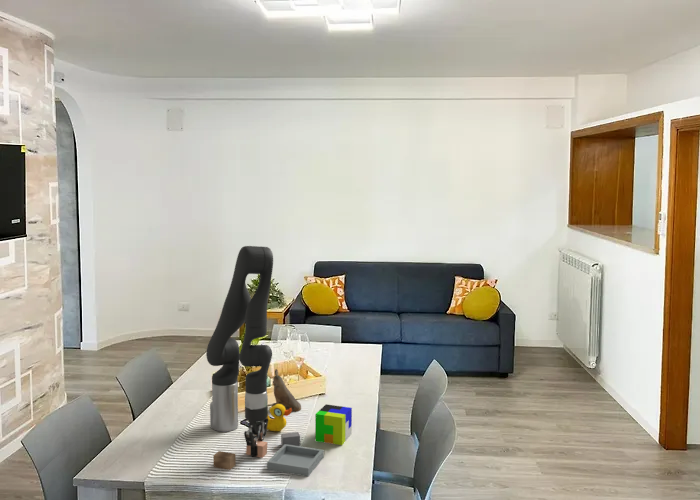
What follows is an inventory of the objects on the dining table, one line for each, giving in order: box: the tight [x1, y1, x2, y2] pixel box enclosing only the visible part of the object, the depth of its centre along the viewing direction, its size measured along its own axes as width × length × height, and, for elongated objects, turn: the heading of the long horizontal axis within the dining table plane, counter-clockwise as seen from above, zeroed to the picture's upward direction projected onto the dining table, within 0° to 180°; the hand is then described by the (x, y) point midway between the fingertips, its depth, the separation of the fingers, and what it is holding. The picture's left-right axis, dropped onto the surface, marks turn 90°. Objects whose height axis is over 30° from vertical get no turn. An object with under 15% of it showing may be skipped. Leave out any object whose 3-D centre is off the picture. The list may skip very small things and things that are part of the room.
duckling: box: [267, 404, 292, 432], centre depth 230 cm, size 11×5×10 cm, turn 82°
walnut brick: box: [212, 450, 237, 471], centre depth 202 cm, size 6×4×4 cm, turn 72°
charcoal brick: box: [280, 431, 301, 447], centre depth 218 cm, size 6×4×4 cm, turn 106°
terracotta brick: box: [245, 439, 268, 459], centre depth 211 cm, size 6×4×4 cm, turn 73°
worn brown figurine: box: [270, 368, 302, 413], centre depth 251 cm, size 12×6×18 cm, turn 81°
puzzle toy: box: [314, 404, 353, 446], centre depth 224 cm, size 10×10×10 cm
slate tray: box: [266, 444, 325, 477], centre depth 204 cm, size 14×14×3 cm
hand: (256, 453), depth 211 cm, fingers closed on terracotta brick, 3 cm apart
